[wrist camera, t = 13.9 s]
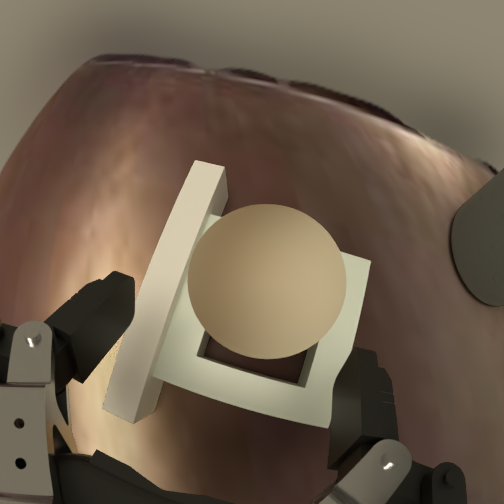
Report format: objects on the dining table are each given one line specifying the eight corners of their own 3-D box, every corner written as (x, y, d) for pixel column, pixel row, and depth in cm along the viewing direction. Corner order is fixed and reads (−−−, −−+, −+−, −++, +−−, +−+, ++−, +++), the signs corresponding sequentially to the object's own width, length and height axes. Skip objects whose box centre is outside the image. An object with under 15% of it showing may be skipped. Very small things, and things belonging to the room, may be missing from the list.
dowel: (299, 299, 20) (359, 229, 9) (279, 363, 19) (323, 377, 8) (235, 279, 21) (218, 187, 9) (214, 343, 19) (165, 328, 8)
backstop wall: (228, 197, 23) (224, 166, 19) (154, 412, 18) (133, 423, 14) (203, 190, 23) (195, 160, 19) (127, 400, 18) (102, 408, 14)
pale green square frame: (356, 272, 21) (370, 261, 18) (317, 418, 18) (327, 428, 15) (214, 231, 22) (210, 214, 19) (165, 373, 18) (152, 376, 16)
